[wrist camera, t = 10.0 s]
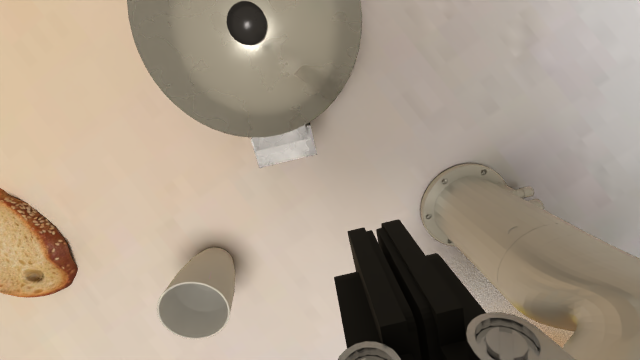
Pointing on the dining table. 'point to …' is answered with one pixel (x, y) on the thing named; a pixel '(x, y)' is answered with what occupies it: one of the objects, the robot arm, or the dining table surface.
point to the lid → (249, 60)
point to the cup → (199, 296)
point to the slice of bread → (31, 252)
